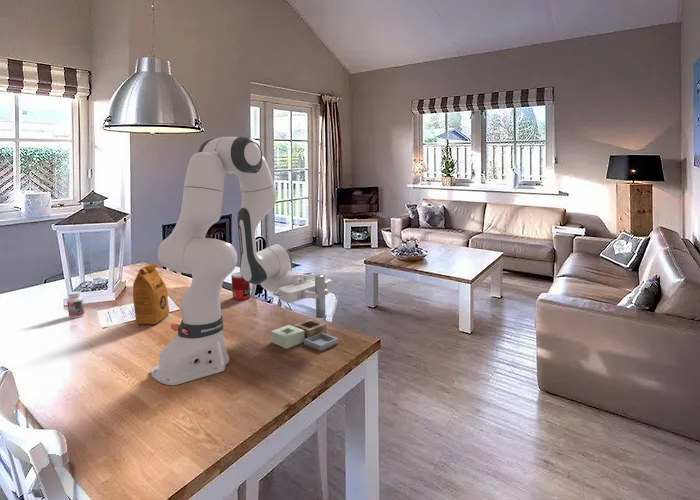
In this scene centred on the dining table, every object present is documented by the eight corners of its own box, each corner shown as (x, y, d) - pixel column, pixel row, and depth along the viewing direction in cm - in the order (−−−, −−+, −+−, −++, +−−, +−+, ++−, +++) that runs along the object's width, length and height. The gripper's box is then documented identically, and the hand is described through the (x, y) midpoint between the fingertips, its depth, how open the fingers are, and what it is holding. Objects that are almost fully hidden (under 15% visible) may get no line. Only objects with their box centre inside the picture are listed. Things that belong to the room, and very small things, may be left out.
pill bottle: (68, 319, 177) (65, 295, 175) (69, 315, 182) (66, 291, 180) (84, 317, 180) (81, 293, 178) (85, 313, 184) (82, 289, 182)
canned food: (246, 301, 198) (245, 276, 196) (229, 300, 199) (228, 276, 197) (253, 295, 205) (252, 272, 203) (237, 295, 207) (235, 271, 205)
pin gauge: (320, 319, 148) (319, 277, 145) (313, 316, 150) (312, 276, 147) (327, 316, 150) (326, 275, 147) (320, 314, 153) (319, 274, 150)
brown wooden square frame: (309, 341, 154) (309, 330, 154) (294, 335, 160) (293, 324, 159) (326, 334, 160) (326, 324, 159) (311, 329, 165) (310, 318, 165)
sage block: (286, 348, 149) (286, 337, 148) (271, 342, 154) (270, 331, 153) (304, 341, 155) (304, 330, 154) (289, 335, 160) (288, 324, 159)
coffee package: (174, 315, 181) (169, 261, 176) (156, 327, 169) (150, 269, 164) (151, 314, 182) (145, 261, 178) (131, 325, 170) (125, 268, 166)
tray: (320, 351, 147) (320, 345, 146) (304, 344, 152) (304, 339, 151) (338, 343, 152) (337, 338, 152) (321, 337, 158) (321, 332, 157)
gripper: (269, 283, 149) (297, 292, 140) (315, 271, 164) (343, 278, 155) (270, 302, 150) (298, 311, 141) (315, 288, 165) (343, 296, 156)
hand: (322, 294), depth 148 cm, fingers closed on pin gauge, 3 cm apart
